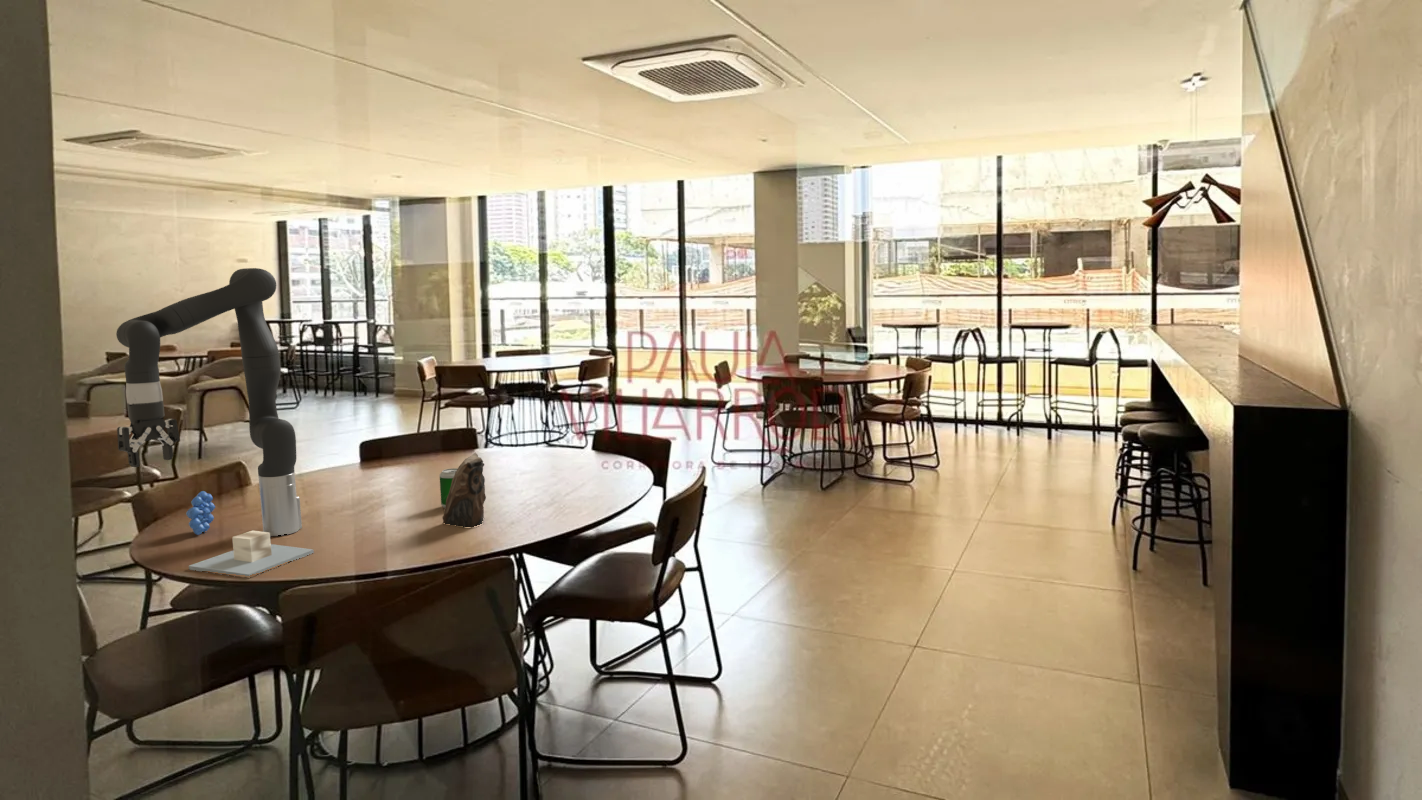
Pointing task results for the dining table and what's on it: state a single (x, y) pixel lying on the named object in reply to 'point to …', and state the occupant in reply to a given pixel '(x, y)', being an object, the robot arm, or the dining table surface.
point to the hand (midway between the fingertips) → (151, 463)
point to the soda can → (446, 483)
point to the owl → (466, 494)
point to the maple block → (251, 546)
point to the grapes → (201, 512)
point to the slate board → (231, 566)
